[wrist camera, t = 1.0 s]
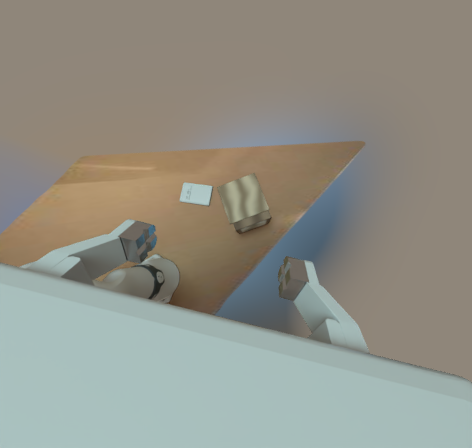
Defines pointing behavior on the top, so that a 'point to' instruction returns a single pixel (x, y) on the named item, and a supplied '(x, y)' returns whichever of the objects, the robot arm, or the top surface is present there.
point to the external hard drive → (196, 194)
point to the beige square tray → (242, 198)
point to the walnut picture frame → (252, 222)
